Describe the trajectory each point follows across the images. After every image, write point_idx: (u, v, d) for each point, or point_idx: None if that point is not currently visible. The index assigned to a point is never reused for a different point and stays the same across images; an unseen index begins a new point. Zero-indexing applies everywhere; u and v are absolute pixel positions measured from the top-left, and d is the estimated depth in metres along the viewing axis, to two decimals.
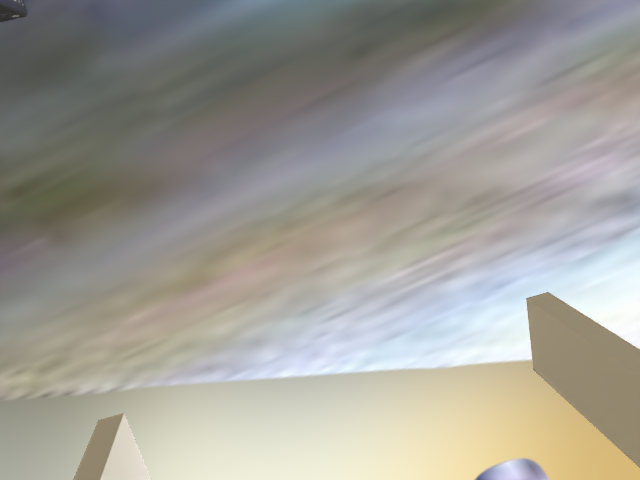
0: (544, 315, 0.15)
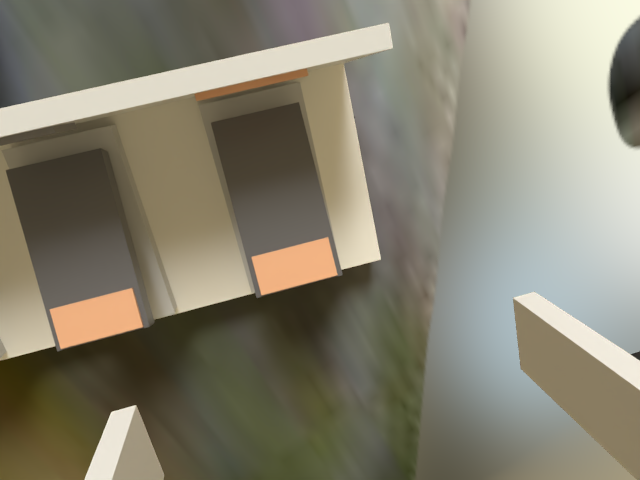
0: (530, 315, 0.15)
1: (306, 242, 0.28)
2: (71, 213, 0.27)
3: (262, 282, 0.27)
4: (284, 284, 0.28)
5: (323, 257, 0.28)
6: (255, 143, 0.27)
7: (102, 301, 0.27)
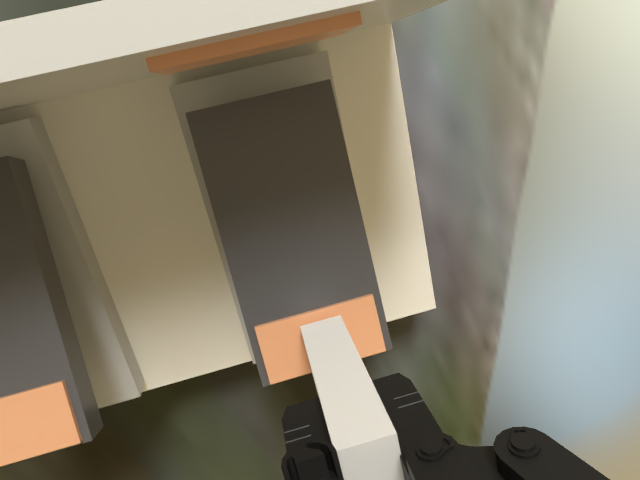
0: (325, 337, 0.17)
1: (339, 302, 0.18)
2: None
3: (271, 365, 0.18)
4: (305, 367, 0.18)
5: (365, 325, 0.18)
6: (259, 147, 0.17)
7: (13, 404, 0.16)
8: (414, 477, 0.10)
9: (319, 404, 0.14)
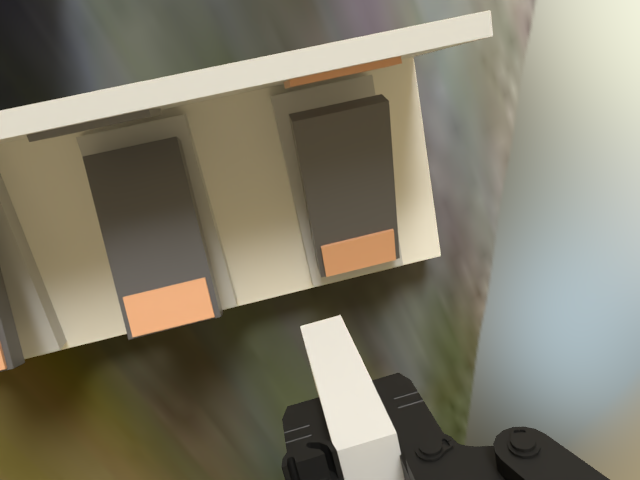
0: (325, 337, 0.17)
1: (372, 233, 0.29)
2: (145, 201, 0.26)
3: (328, 267, 0.30)
4: (348, 268, 0.30)
5: (386, 246, 0.30)
6: (337, 144, 0.26)
7: (175, 290, 0.26)
8: (414, 477, 0.10)
9: (319, 404, 0.14)
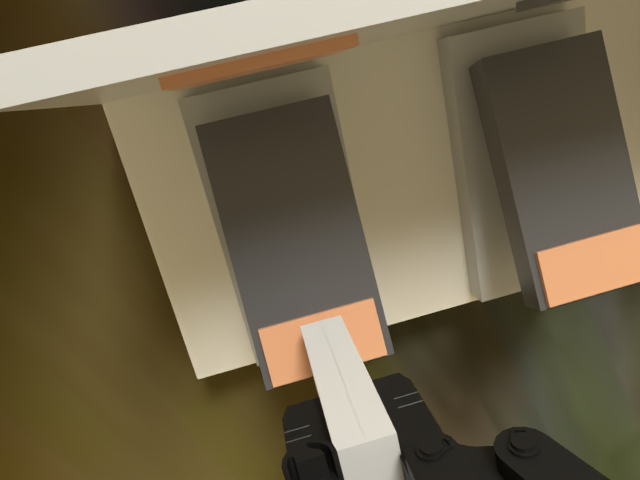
0: (325, 337, 0.17)
1: None
2: (562, 120, 0.19)
3: None
4: None
5: None
6: None
7: (604, 242, 0.19)
8: (414, 477, 0.10)
9: (319, 404, 0.14)
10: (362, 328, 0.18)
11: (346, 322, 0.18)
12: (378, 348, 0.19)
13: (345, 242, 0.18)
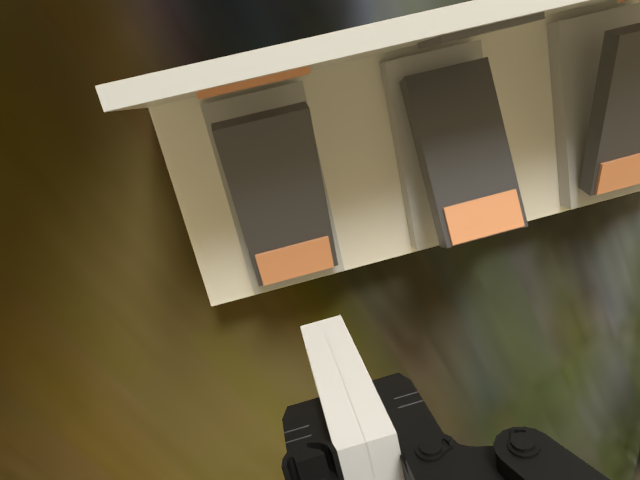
0: (325, 337, 0.17)
1: None
2: (461, 117, 0.28)
3: (601, 184, 0.31)
4: (617, 186, 0.32)
5: None
6: None
7: (490, 200, 0.28)
8: (414, 477, 0.10)
9: (319, 404, 0.14)
10: (320, 253, 0.29)
11: (310, 250, 0.29)
12: (329, 264, 0.30)
13: (313, 204, 0.28)
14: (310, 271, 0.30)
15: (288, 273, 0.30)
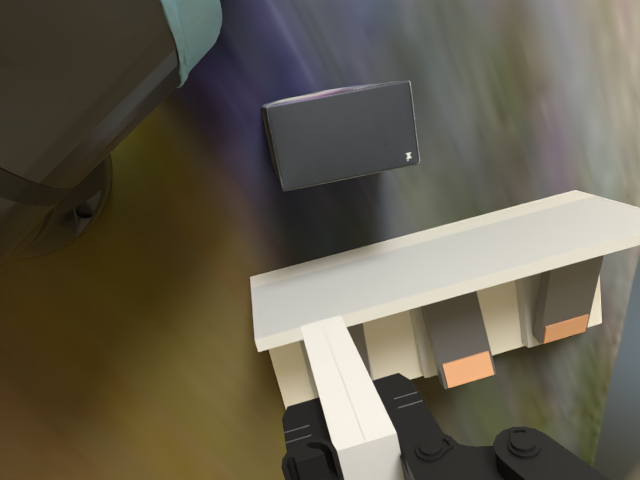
0: (325, 337, 0.17)
1: (575, 317, 0.47)
2: (453, 307, 0.44)
3: (546, 338, 0.48)
4: (557, 337, 0.48)
5: (582, 324, 0.48)
6: (571, 273, 0.44)
7: (472, 359, 0.45)
8: (413, 477, 0.10)
9: (319, 404, 0.14)
10: None
11: None
12: None
13: None
14: None
15: None
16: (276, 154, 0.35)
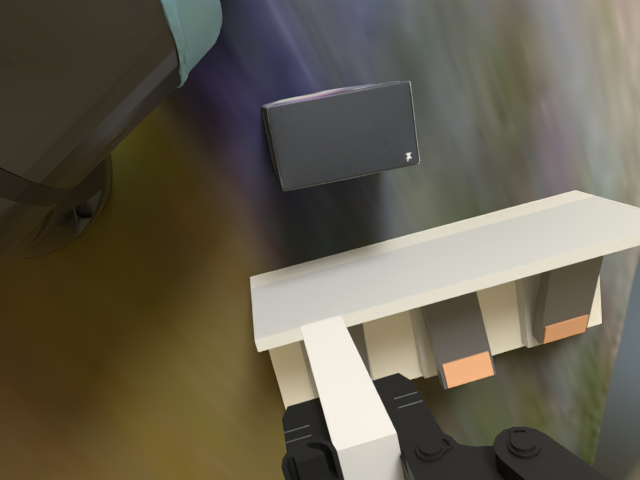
0: (325, 337, 0.17)
1: (575, 317, 0.47)
2: (453, 307, 0.44)
3: (546, 338, 0.48)
4: (557, 338, 0.48)
5: (581, 324, 0.48)
6: (571, 273, 0.44)
7: (472, 359, 0.45)
8: (414, 477, 0.10)
9: (319, 404, 0.14)
10: None
11: None
12: None
13: None
14: None
15: None
16: (276, 154, 0.35)
